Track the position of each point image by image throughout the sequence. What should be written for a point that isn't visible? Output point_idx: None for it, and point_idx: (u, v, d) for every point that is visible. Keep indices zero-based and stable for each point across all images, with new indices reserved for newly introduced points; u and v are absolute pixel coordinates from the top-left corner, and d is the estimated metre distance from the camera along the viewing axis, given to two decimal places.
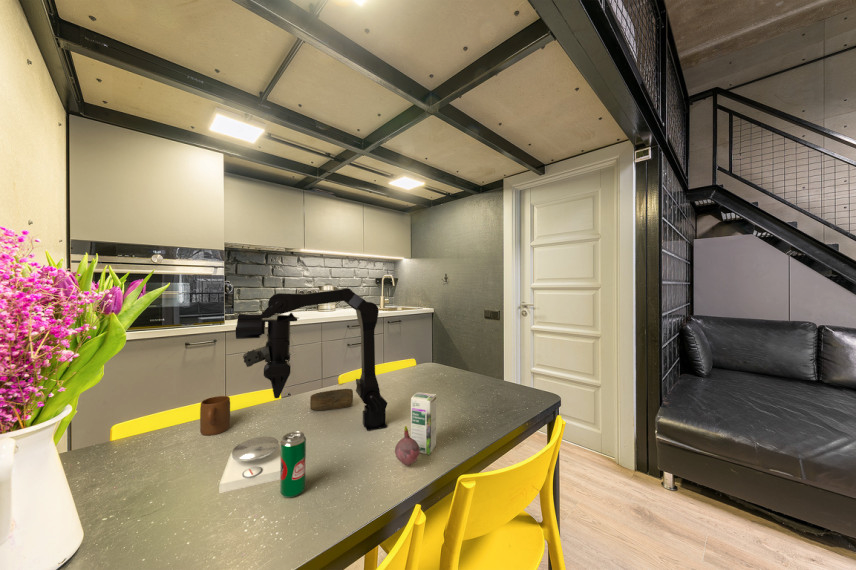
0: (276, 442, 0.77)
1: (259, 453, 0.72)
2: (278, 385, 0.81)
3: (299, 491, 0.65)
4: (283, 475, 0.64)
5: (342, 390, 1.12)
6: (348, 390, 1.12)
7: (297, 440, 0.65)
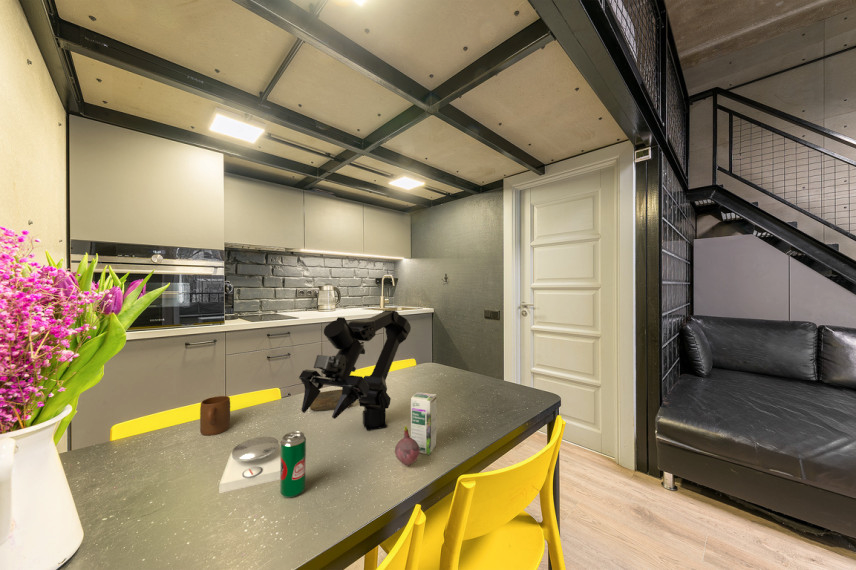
0: (276, 442, 0.77)
1: (259, 453, 0.72)
2: (344, 404, 0.74)
3: (299, 491, 0.65)
4: (283, 475, 0.64)
5: None
6: None
7: (297, 440, 0.65)
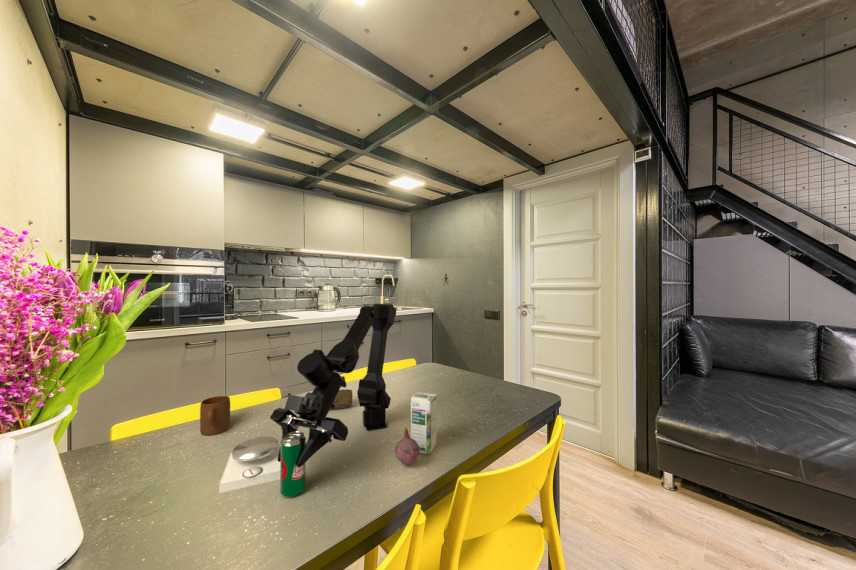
0: (276, 442, 0.77)
1: (259, 453, 0.72)
2: (311, 449, 0.66)
3: (299, 491, 0.65)
4: (283, 475, 0.64)
5: (341, 391, 1.11)
6: (347, 391, 1.12)
7: (297, 440, 0.65)
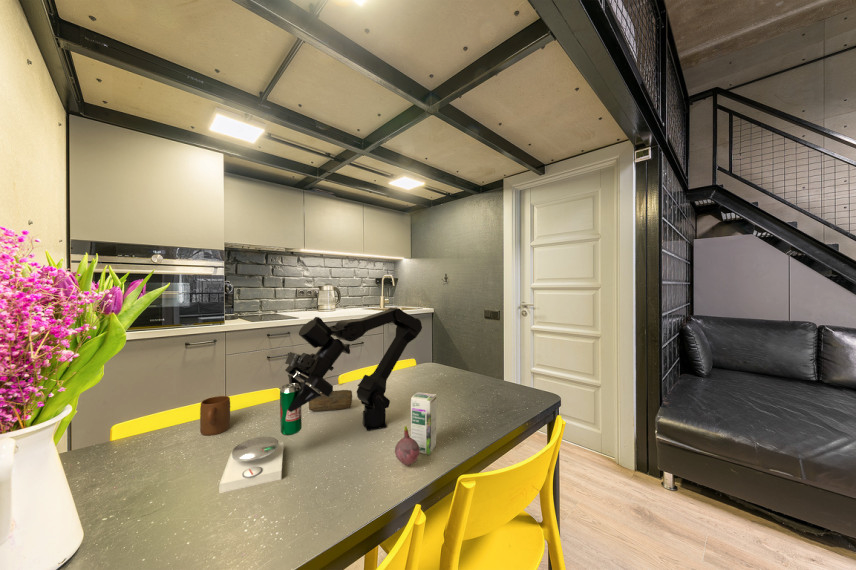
0: (276, 442, 0.77)
1: (259, 453, 0.72)
2: (302, 399, 0.78)
3: (292, 432, 0.77)
4: (280, 416, 0.78)
5: (341, 391, 1.11)
6: (347, 391, 1.11)
7: (290, 389, 0.77)
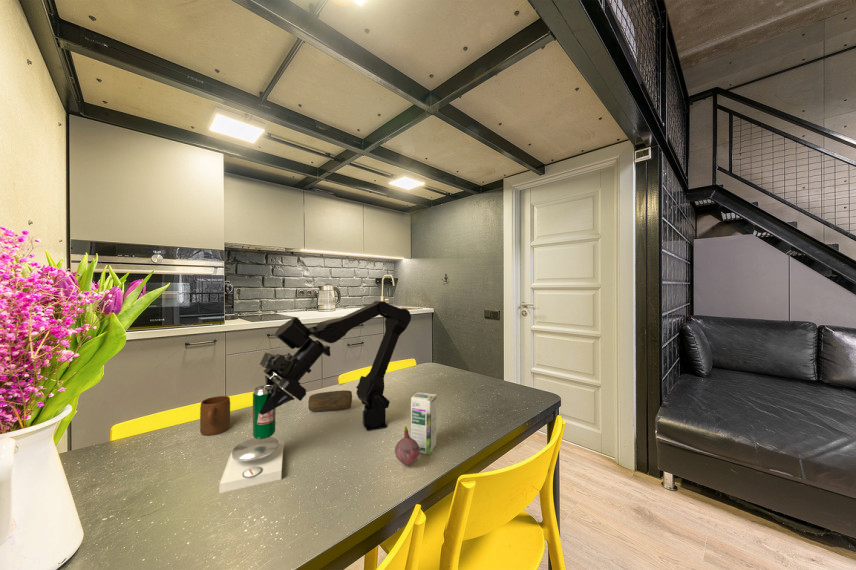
0: (276, 442, 0.77)
1: (259, 453, 0.72)
2: (274, 402, 0.75)
3: (263, 435, 0.74)
4: None
5: (341, 391, 1.10)
6: (347, 392, 1.11)
7: (262, 391, 0.75)
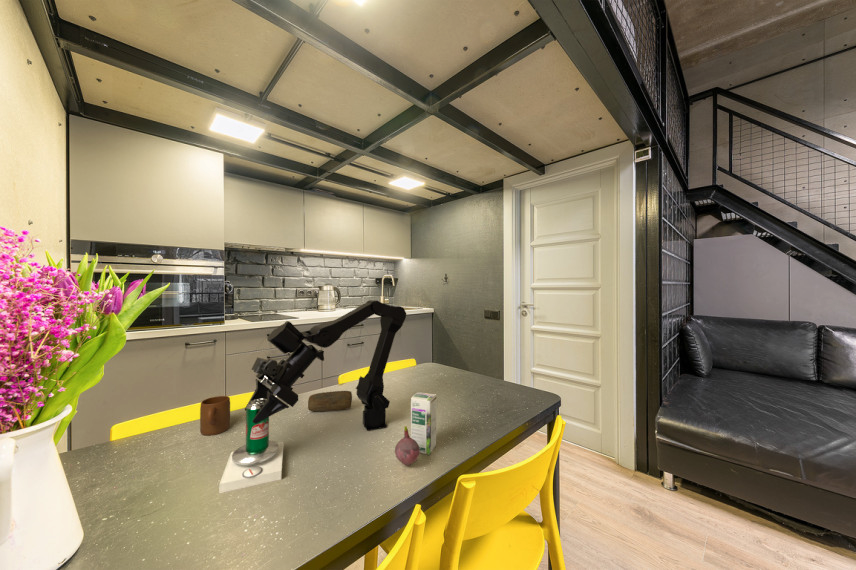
0: (276, 446, 0.77)
1: (259, 457, 0.72)
2: (268, 410, 0.72)
3: (256, 450, 0.73)
4: None
5: (340, 392, 1.10)
6: (346, 392, 1.10)
7: (255, 405, 0.74)
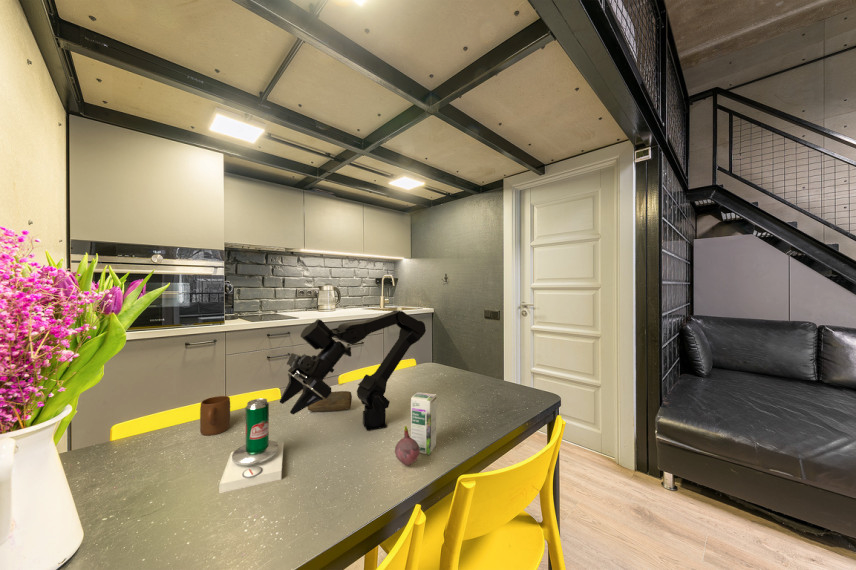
0: (276, 446, 0.77)
1: (259, 457, 0.72)
2: (304, 402, 0.78)
3: (256, 450, 0.73)
4: None
5: (340, 392, 1.10)
6: (346, 393, 1.10)
7: (255, 405, 0.74)
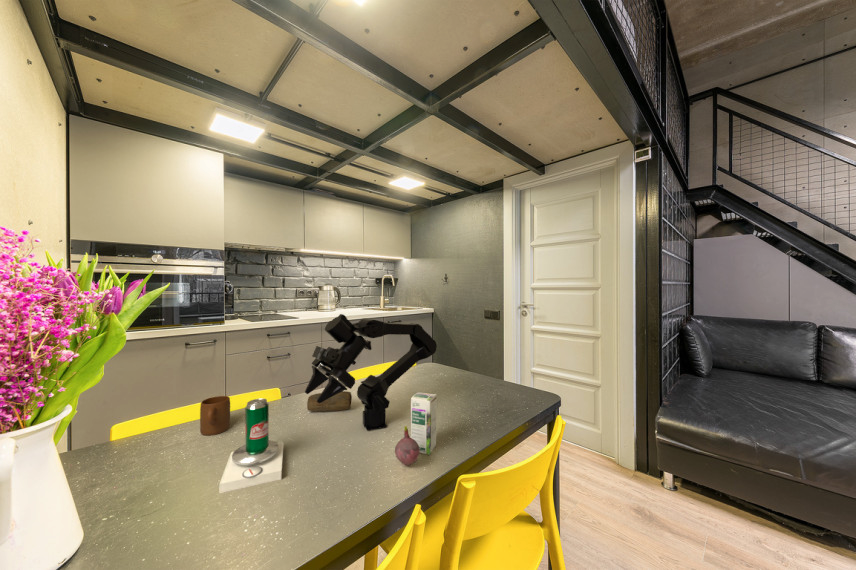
0: (276, 446, 0.77)
1: (259, 457, 0.72)
2: (330, 392, 0.82)
3: (256, 450, 0.73)
4: (245, 433, 0.74)
5: (340, 392, 1.09)
6: (346, 393, 1.09)
7: (255, 405, 0.74)
